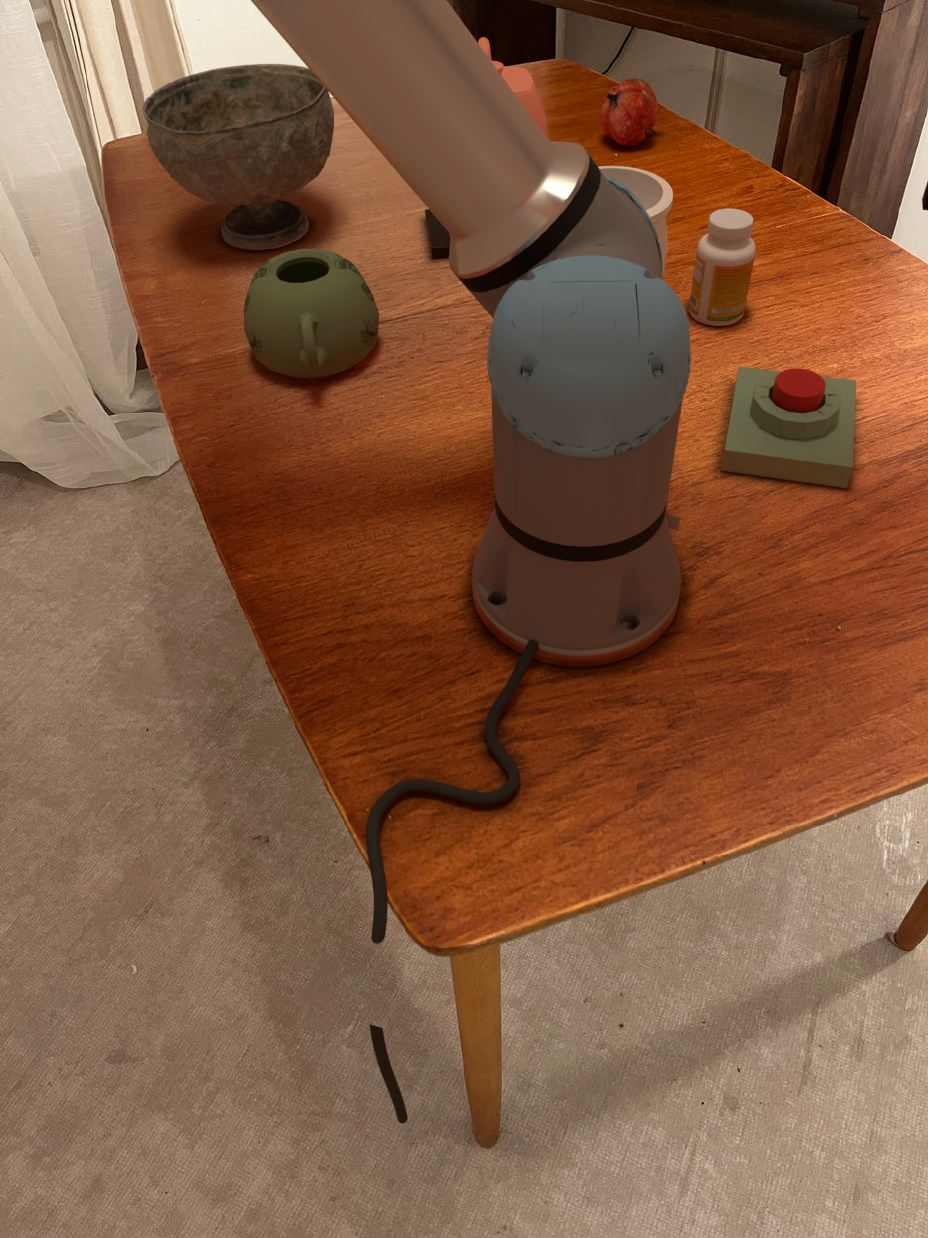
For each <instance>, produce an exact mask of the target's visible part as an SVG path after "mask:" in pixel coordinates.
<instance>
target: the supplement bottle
mask: <svg viewBox="0 0 928 1238" xmlns="http://www.w3.org/2000/svg"><path fill="white" fill-rule="evenodd" d="M753 225H754V217H753V216H752V214H751V213H749V212H748V211H746V210H742V209H739V208H731V207H730V208H729V207H728V208H721V209H717V210H714V211H713V212H711V214H710V215H709V217H708V222H707V233H706V234H704V235H703V236H702V237H701V238H700V239H699V241H698V243H697V247H696V252H695V253H696V254H695V262H694V267H693V268H694V269H693V275H692V283H691V288H690V297H689V303H688V304H689V306H688V310H689V314H690V316H691V317H692V318H693V320H695V321H697V322H698V323H701V324H704V325H707V326H713V327H725V326H731V325H733V324H735V323H737V322H739V321H740V320H741V319H743V316H744V314H745V311H746V305H747V300H748V295H749V289H750V284H751V278H752V273H753V267H754V263H755V258H756V257H755V256H756V250H757V249H756V248H757V247H756V243H755V241H754V239H753V238H752V237H751V236H752V232H753Z"/></svg>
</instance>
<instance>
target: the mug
mask: <svg viewBox="0 0 928 1238" xmlns="http://www.w3.org/2000/svg"><path fill="white" fill-rule="evenodd" d="M247 289H248V290H247V292H246V295H245V300H244V305H243V329H244V333H245V336H246V338H247V339H246V340H247V341H248V345H249V346H250V349H251V351H252V353H253V355H254V357H255V359H256V361H257V362H259V364H261V365H262V366H264V367H265V368H267V369H268V370H269V371H271V372H273V373H276V374H277V373H278V374H281V375H284V376H288V377H292V378H296V379H320V378H325V377H328V376H329V377H330V376H333V375H338V374H340V373H343V372H344V371H346V370H349V369H351V368H352V367H354V366H356V365H357V364H359V363H360V362H362V361H364V359H365V358H366V357H367V356H368V355H369V354H370V353H371V351H372V350H373V349H374V348H375V347H376V344H377V339H378V335H379V325H380V313H379V310H378V307H377V303H376V300H375V298H374V294H373V292H372V291H371V289H370V287H369V286H368V283H367V282H366V280H365V278H364V277H363V275H362V273H361V272H360V270H359V269H358V268H357V266H356V265H355V264H354V263H353V262H351V261H350V260H349V259H347V258H345V257H343V256H342V255H340V254H339V253H337V252H335V251H331V250H327V249H322V248H299V249H295V250H290V251H285V252H283V253H280V254H278V255H276V256H274V257H271V258H270V259H268V260H266V262H265V263H264V264H262V265H261V266H260V267H259V268H258V269H257V270H256V271H255V273H254V274H253V276H252V279H251V280H250V284H249V286H248V288H247Z"/></svg>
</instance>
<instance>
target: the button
mask: <svg viewBox="0 0 928 1238" xmlns="http://www.w3.org/2000/svg"><path fill="white" fill-rule="evenodd" d="M821 376H822V375H820V374H819V373H817V372H815V371H813V370H810V369H806V368H799V367H797V368H788V369H784V370H781V373H779V374H778V375H777V377H776V379H775V383H774V388H773V392H772V401H773V403H774V404H775V406H777V407H779V408H781V409H783V410H785V411H787V412H794V413H802V414H803V413H808V412H813V411H816V410H817V409H818V408H819V407H820V405H821V403H822V399H823V395H824V392H825V388H826V383H825V380H824V379H823V378H822V377H821Z"/></svg>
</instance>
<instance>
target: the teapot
mask: <svg viewBox="0 0 928 1238" xmlns="http://www.w3.org/2000/svg"><path fill="white" fill-rule="evenodd" d="M477 43H478V44H479V46H480V47H481V48H482V50H483V51H484V52H485V54H486V55H487V57H488V58H489V59H490V61H491V62H492V63H493V65H494V66H495V68H496V69H497V70H498V72H499V73H500V74H501V76H502V77H503V78H504V80H505V81H506V83H507V84H508V85H509V87H510V88H511V89H512V91H513V92H514V94H515V95H516V96H517V98H518V99H519V100H520V102H521V103H522V105H523V106H524V107H525V109H526V110H527V111H528V113H529V114H530V116H531V117H532V118H533V120H534V121H535V122H536V124H537V125H538V126H539V128H540V129H541V131H542V132H543V133H544V135H545V136H546V137H547V139H548V140H550V136H549V125H548V120H547V116H546V111H545V108H544V105H543V101H542V99H541V96H540V94H539V91H538V89H537V86H536V84H535V81H534V79H533V77H532V76H531V73H530V72H529V71H528V70H527V69H526V68H523V67H522V66H521V67H520V66H504V63H503V62H500V61H497V60H493V59H492V54H491V53H492V52H491V44H490V41H489V38H487V37H484V36H482V37H480V38H479V39H478V42H477Z"/></svg>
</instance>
